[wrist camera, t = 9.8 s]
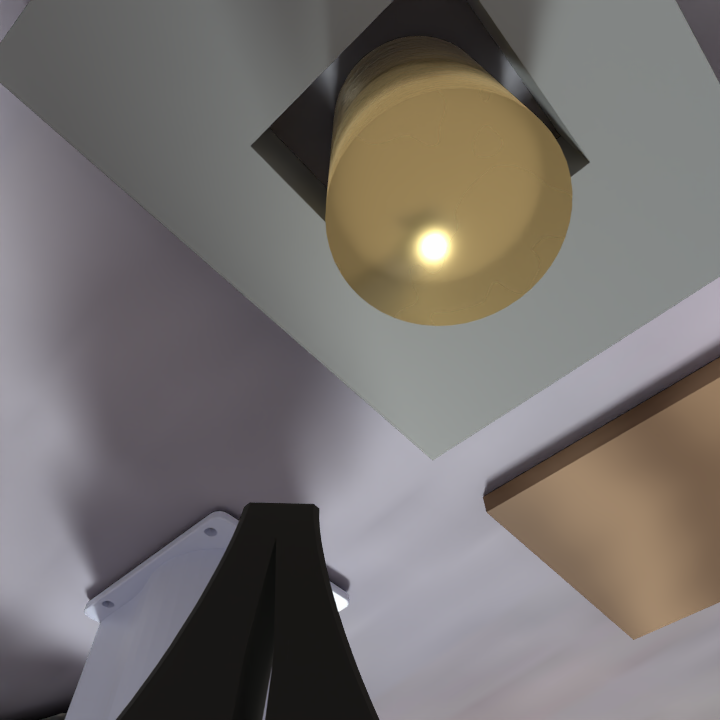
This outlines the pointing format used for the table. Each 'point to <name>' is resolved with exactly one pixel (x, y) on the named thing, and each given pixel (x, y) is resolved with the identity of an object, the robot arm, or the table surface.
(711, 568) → the stand pad
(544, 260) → the brass peg
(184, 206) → the grey square socket plate
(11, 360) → the table surface
